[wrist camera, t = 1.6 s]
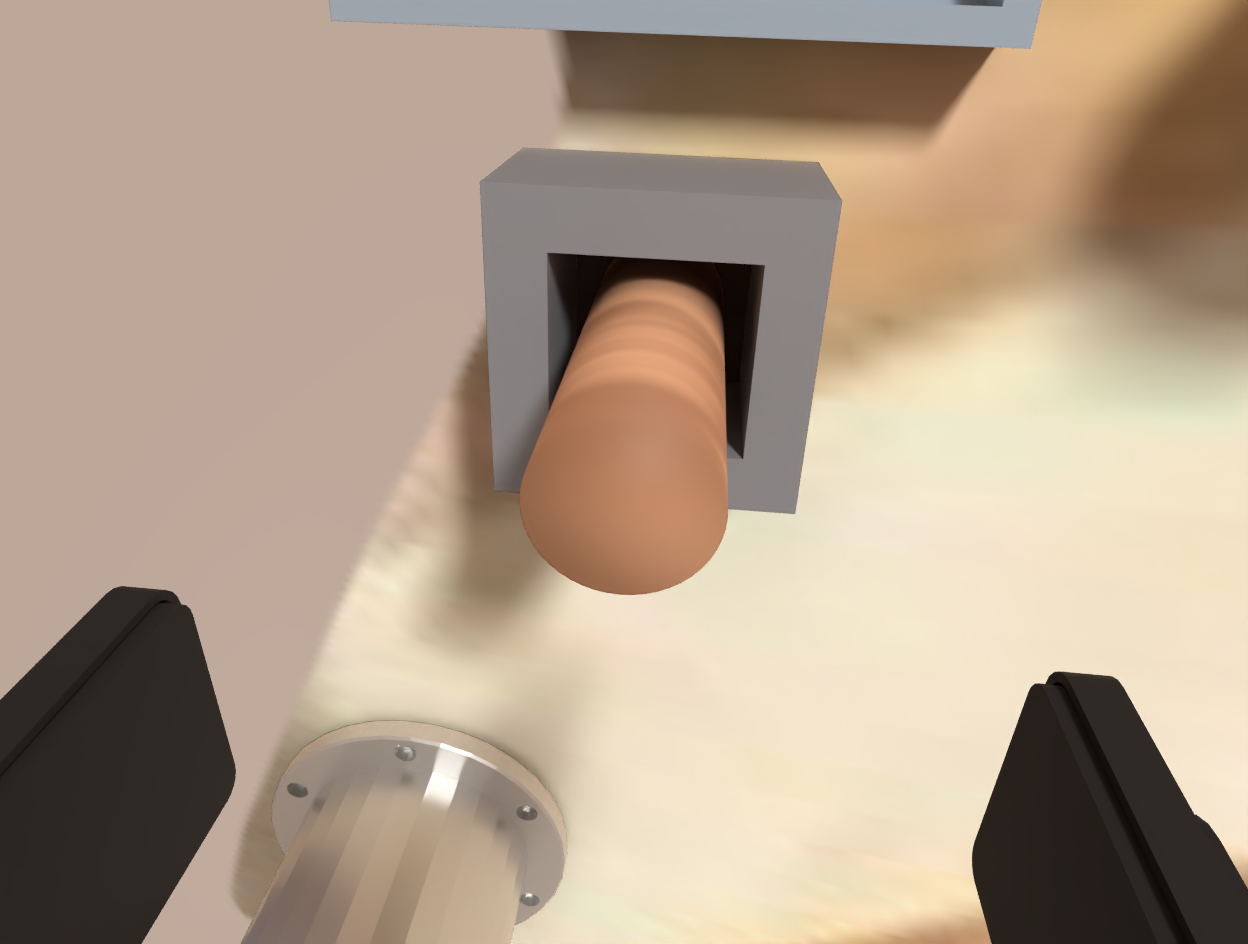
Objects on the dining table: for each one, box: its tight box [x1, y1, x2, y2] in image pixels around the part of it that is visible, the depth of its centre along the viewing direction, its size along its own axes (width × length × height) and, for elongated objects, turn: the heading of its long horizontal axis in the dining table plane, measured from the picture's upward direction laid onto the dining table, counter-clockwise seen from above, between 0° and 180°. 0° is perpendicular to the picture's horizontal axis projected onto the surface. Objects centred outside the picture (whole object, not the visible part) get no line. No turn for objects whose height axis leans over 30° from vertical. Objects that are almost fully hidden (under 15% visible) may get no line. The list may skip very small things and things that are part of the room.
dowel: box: [520, 257, 728, 595], centre depth 20 cm, size 4×4×12 cm
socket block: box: [480, 148, 842, 514], centre depth 23 cm, size 8×8×5 cm
